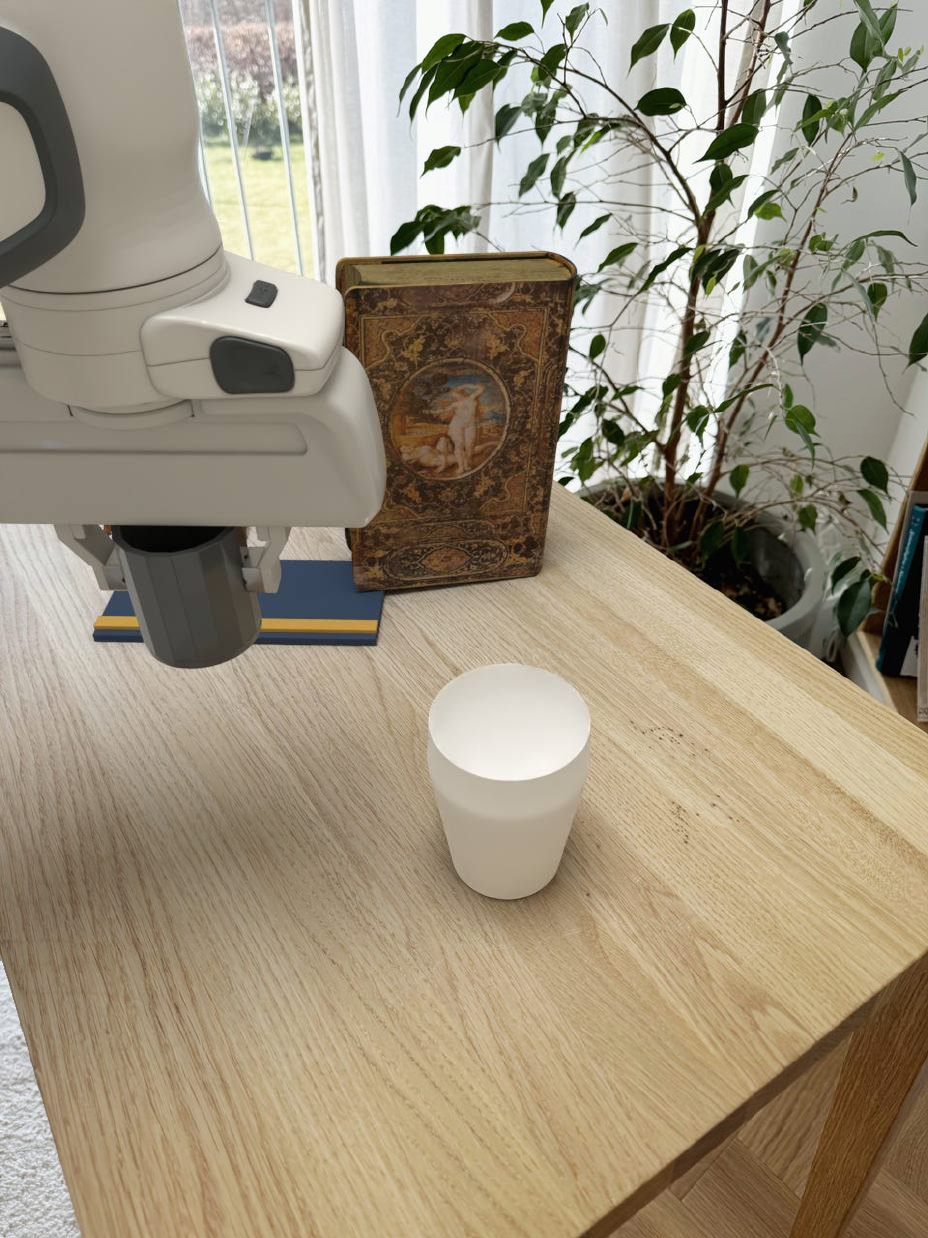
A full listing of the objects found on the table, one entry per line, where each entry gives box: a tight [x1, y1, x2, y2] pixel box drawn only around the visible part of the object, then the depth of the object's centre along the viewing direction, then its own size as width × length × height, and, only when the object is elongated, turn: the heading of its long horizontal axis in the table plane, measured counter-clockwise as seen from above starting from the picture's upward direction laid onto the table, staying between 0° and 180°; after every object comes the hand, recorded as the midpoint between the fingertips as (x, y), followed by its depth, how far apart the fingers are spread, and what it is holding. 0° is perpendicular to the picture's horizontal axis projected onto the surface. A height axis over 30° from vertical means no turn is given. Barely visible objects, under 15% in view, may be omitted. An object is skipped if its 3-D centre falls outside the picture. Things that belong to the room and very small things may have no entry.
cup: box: [426, 663, 591, 900], centre depth 56 cm, size 9×9×12 cm
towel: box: [91, 559, 386, 647], centre depth 78 cm, size 22×10×1 cm, turn 88°
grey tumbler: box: [110, 525, 262, 670], centre depth 49 cm, size 6×6×7 cm
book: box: [334, 250, 578, 591], centre depth 74 cm, size 16×6×25 cm, turn 102°
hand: (193, 584), depth 49 cm, fingers closed on grey tumbler, 6 cm apart
